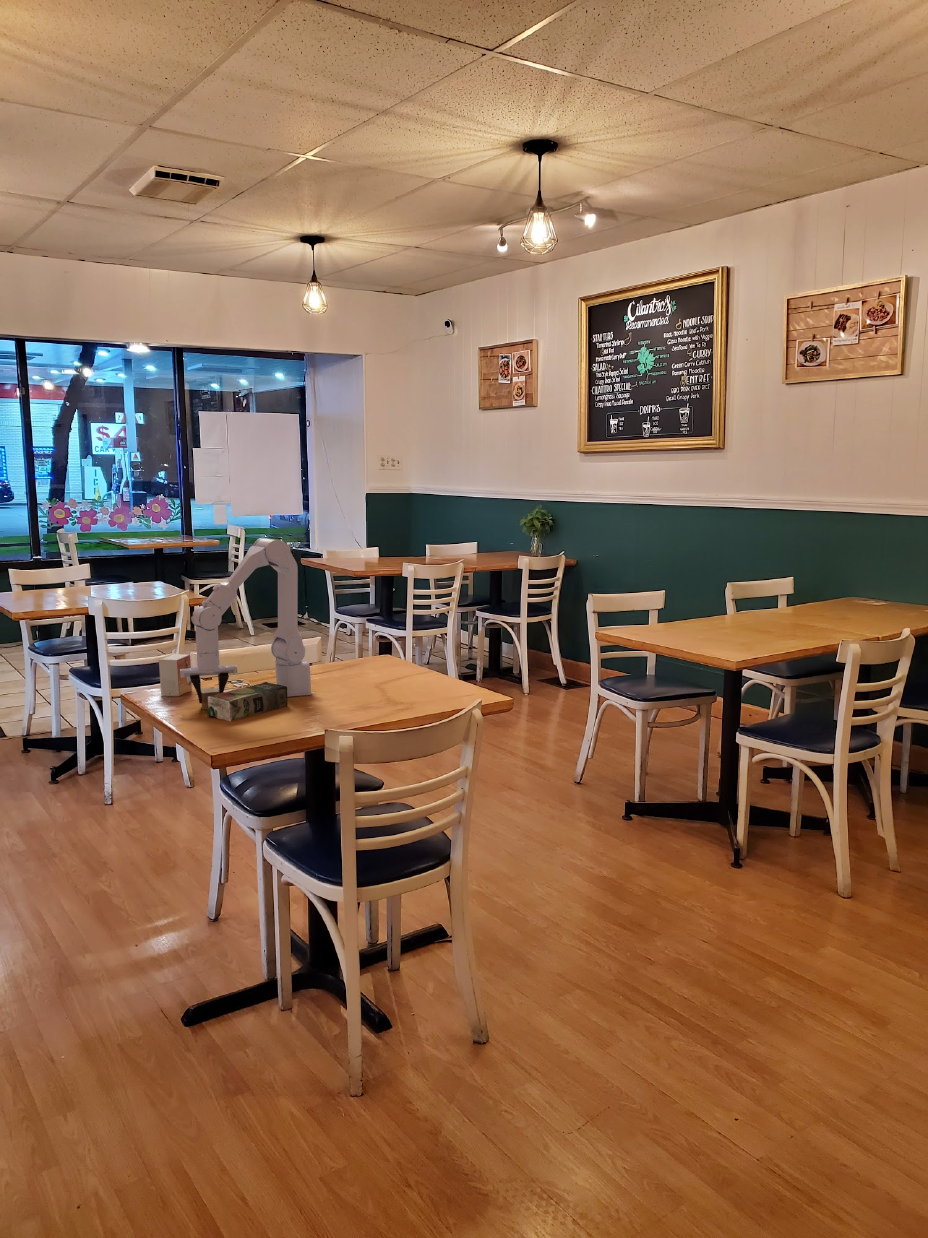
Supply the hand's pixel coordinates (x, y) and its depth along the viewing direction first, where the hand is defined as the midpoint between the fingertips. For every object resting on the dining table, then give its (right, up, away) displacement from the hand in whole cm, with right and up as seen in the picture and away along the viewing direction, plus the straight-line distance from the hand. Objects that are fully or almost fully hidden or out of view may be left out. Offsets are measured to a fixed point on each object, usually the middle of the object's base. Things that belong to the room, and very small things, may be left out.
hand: (210, 701), depth 249 cm
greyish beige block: (0, -1, 0) cm, 1 cm away
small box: (-14, +1, +15) cm, 21 cm away
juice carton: (+11, -3, -4) cm, 12 cm away
